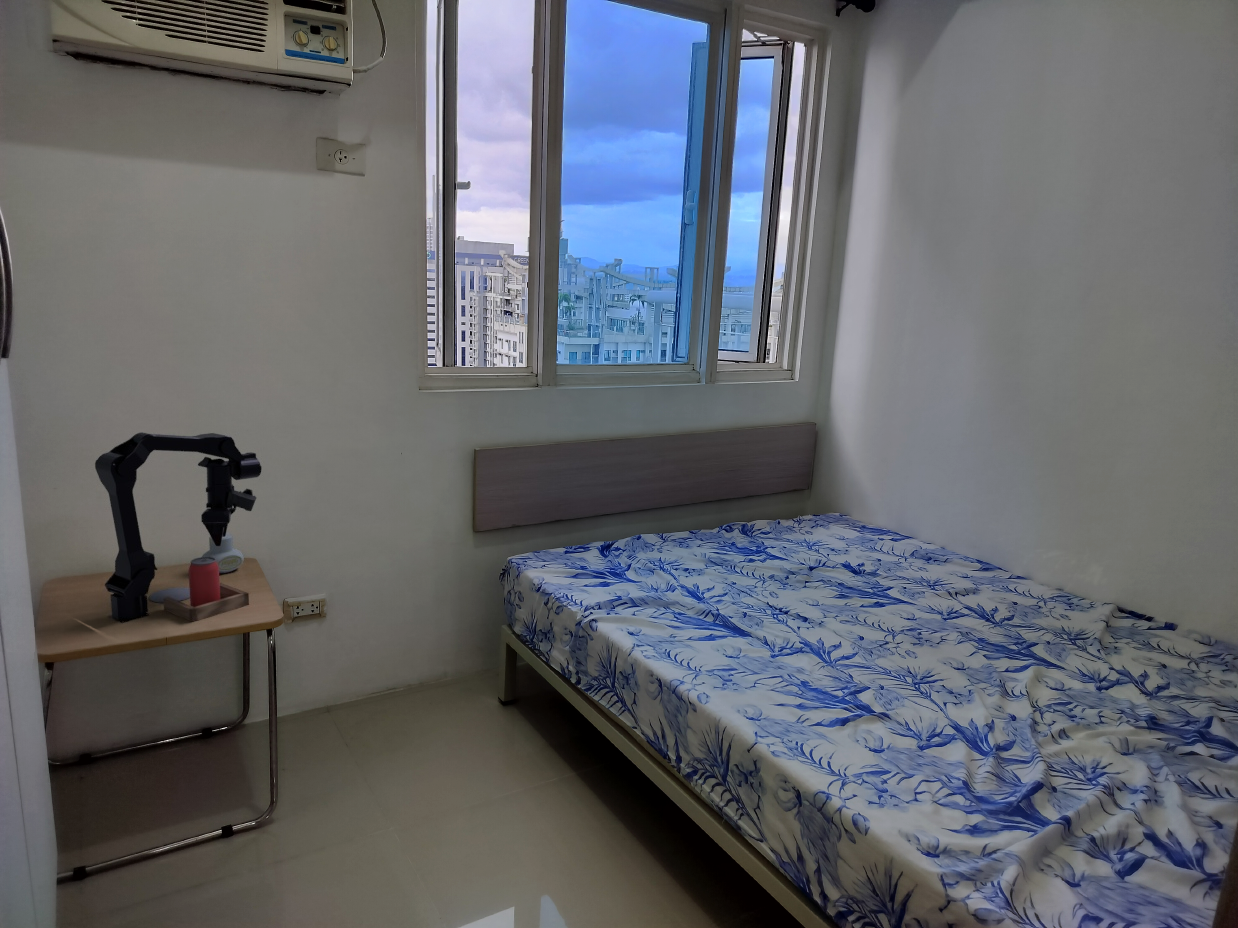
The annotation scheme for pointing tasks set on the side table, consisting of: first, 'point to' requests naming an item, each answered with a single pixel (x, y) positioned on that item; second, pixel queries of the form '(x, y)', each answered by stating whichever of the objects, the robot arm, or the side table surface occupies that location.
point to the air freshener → (225, 554)
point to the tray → (209, 604)
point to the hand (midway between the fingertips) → (220, 541)
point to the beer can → (204, 581)
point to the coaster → (171, 594)
